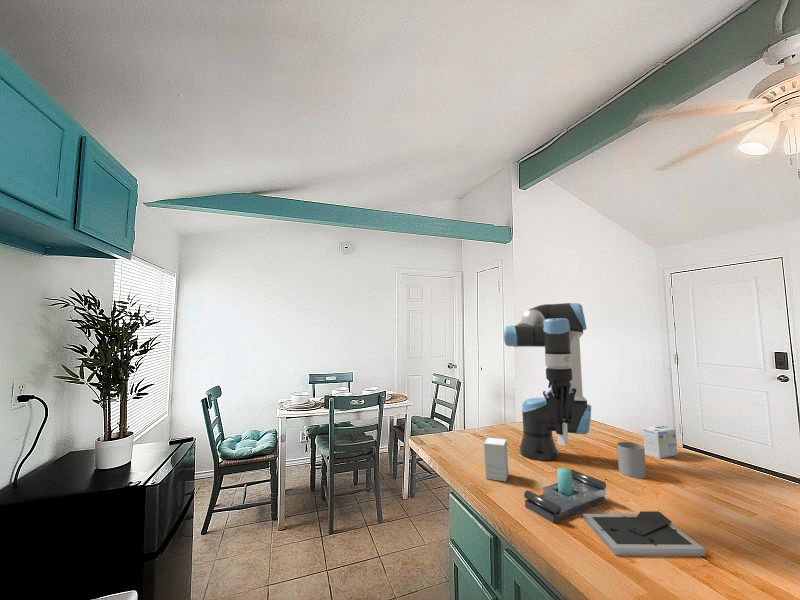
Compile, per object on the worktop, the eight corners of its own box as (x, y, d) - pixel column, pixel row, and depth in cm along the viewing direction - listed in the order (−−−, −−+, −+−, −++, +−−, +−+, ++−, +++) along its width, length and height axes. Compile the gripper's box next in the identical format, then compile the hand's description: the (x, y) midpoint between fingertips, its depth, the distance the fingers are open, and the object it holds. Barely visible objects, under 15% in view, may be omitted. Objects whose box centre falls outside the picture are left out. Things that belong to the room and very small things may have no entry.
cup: (650, 479, 124) (648, 449, 125) (624, 477, 126) (622, 448, 127) (639, 469, 133) (637, 442, 133) (615, 468, 134) (613, 441, 135)
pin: (556, 503, 109) (554, 469, 109) (564, 500, 110) (562, 467, 111) (567, 509, 105) (565, 474, 106) (576, 505, 107) (574, 471, 108)
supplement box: (509, 474, 131) (507, 439, 132) (506, 482, 124) (504, 445, 125) (488, 471, 134) (487, 437, 135) (484, 478, 127) (483, 442, 128)
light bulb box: (662, 450, 153) (660, 424, 154) (678, 455, 146) (676, 428, 147) (644, 453, 149) (642, 427, 150) (660, 458, 143) (658, 431, 144)
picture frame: (659, 522, 98) (583, 521, 99) (659, 511, 99) (582, 511, 99) (705, 558, 83) (614, 557, 84) (704, 545, 83) (614, 544, 84)
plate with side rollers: (523, 506, 107) (522, 484, 108) (575, 488, 118) (574, 468, 119) (554, 523, 97) (553, 499, 98) (607, 502, 109) (606, 480, 109)
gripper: (554, 369, 105) (559, 451, 103) (582, 367, 111) (587, 444, 109) (534, 367, 111) (538, 444, 109) (562, 365, 118) (566, 438, 116)
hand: (562, 444), depth 109 cm, fingers closed
